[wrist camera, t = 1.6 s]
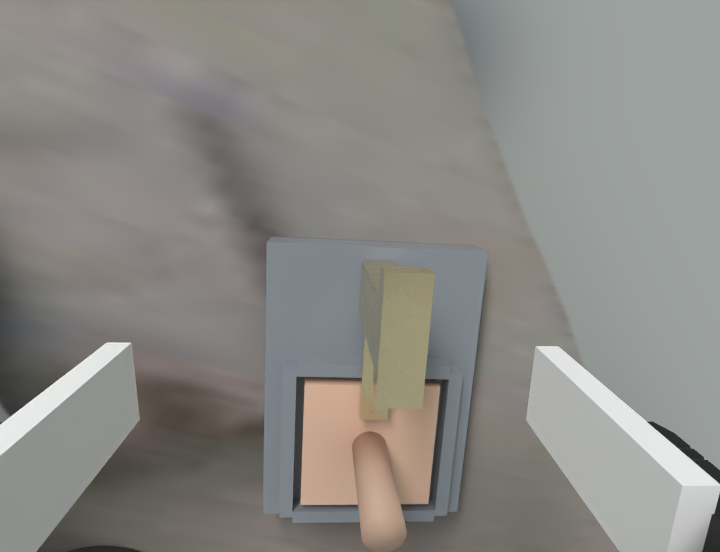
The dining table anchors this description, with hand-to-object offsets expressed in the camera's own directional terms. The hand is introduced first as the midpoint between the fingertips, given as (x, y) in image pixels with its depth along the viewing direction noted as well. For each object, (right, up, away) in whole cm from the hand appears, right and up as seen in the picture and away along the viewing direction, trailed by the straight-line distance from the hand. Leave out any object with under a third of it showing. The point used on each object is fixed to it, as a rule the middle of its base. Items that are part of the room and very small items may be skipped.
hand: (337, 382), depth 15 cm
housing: (+1, -5, +23) cm, 23 cm away
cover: (+1, -9, +21) cm, 23 cm away
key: (+2, 0, +19) cm, 19 cm away
